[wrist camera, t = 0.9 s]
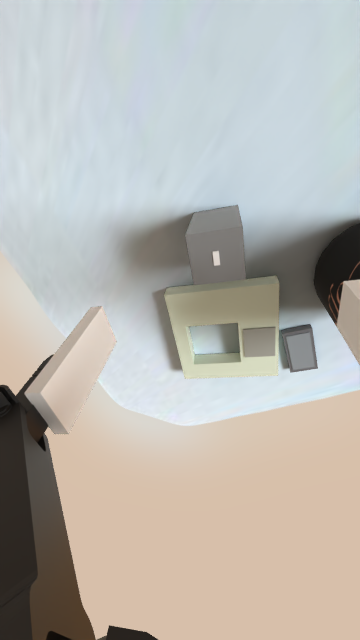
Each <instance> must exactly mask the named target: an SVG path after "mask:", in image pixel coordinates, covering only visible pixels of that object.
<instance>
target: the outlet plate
mask: <svg viewBox="0 0 360 640" xmlns="http://www.w3.org/2000/svg"><path fill="white" fill-rule="evenodd" d="M164 297H165V301H166V305H167V309H168V313H169V317H170V321H171V325H172V329H173V333H174V337H175V341H176V345H177V349H178V353H179V357H180V361H181V365H182V369H183V373H184V377H185V379H193V378H221V377H250V376H278V343H279V281H278V278H277V276H267V277H258V278H249V279H246V280H238V281H229V282H220V283H211V284H202V285H187V286H178V287H169V288H167V289H166V292H165V294H164ZM227 323H238V332H239V343H240V353H221V354H203V355H195V353H194V348H193V343H192V339H191V334H190V329H189V326H202V325H214V324H227Z"/></svg>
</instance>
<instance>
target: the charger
mask: <svg viewBox="0 0 360 640" xmlns="http://www.w3.org/2000/svg"><path fill="white" fill-rule="evenodd" d="M185 238H186V243H187V249H188V255H189V260H190V266H191V272H192V277H193V283H194V285H202V284H211V283H220V282H229V281H238V280H246V275H245V259H244V242H243V226H242V222H241V217H240V213H239V208H238V205H235V206H229V207H223V208H217V209H212V210H206V211H200V212H194V214H193V216H192V219H191V221H190V224H189V226H188V229H187V232H186V234H185Z"/></svg>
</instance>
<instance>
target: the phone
mask: <svg viewBox="0 0 360 640" xmlns="http://www.w3.org/2000/svg"><path fill="white" fill-rule="evenodd" d="M281 331H282V336H283V340H284V345H285V350H286V354H287V359H288V364H289V368H290V372H298V371H304V370H311V369H317V368H318V367H317V360H316V352H315V345H314V338H313V331H312V327H311V325H305V326H300V327H295V328H290V329H285V330H281Z"/></svg>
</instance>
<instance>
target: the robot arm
mask: <svg viewBox="0 0 360 640" xmlns="http://www.w3.org/2000/svg"><path fill="white" fill-rule="evenodd" d="M337 328H338V330H339V331H340V333H341V335H342V336H343V338H344V340H345V341H346V343H347V345H348V346H349V348H350V350H351V351H352V353H353V355H354V356H355V358H356V360H357V361H358V363H359V365H360V280H351V281H344V282H343V288H342V295H341V301H340V307H339V314H338V320H337ZM116 342H117V341H116V339H115V336H114V334H113V331H112V329H111V326H110V324H109V321H108V319H107V316H106V314H105V312H104V309H103V307H102V306H99V307H91V308H90V309H89V310H88V312H87V313H86V314H85V316H84V317H83V318H82V319H81V321H80V322H79V323H78V325H77V326H76V327H75V328H74V330H73V331H72V332H71V334H70V335H69V336H68V337H67V339H66V340H65V341H64V343H63V344H62V345H61V347H60V348H59V349H58V350H57V352H56V353H55V354H54V355H51V356H50V357H48V358H47V359H46V360H45V361H43V363H42V364H41V365H40V366H39V368H38V369H37V371H35V373H34V374H33V375H32V377H31V378H30V379H29V380H28V381H27V383H26V384H25V385H24V386H23V388H22V389H21V390H20V391H19V393H18V394H17V395H16V396H15V395H14V394H13V393H12V391H11V390H10V389H9V387H8V386H6V385H0V640H96V639H95V635H94V631H93V628H92V625H91V622H90V620H89V618H88V616H87V614H86V612H85V610H84V608H83V605H82V602H81V598H80V594H79V589H78V584H77V580H76V574H75V570H74V564H73V560H72V555H71V550H70V546H69V540H68V536H67V531H66V526H65V521H64V516H63V511H62V506H61V502H60V497H59V492H58V487H57V482H56V477H55V473H54V468H53V463H52V458H51V453H50V449H49V443H48V439H47V437H46V435H45V433H44V432H45V431H46V429H47V427H48V426H49V428H50V429H51V430H52V431H53V433H54V434H69V433H70V431H71V429H72V427H73V425H74V423H75V421H76V419H77V417H78V416H79V414H80V412H81V410H82V408H83V406H84V404H85V402H86V400H87V398H88V396H89V394H90V392H91V390H92V388H93V387H94V385H95V383H96V381H97V379H98V377H99V375H100V373H101V371H102V369H103V368H104V366H105V364H106V362H107V360H108V358H109V356H110V354H111V352H112V350H113V348H114V346H115V344H116ZM98 640H158V639H156V638H155V637H153V636H152V635H150V634H149V633H147V632H142V631H137V630H131V629H126V628H120V627H114V626H109V628H108V632H107V636H104V637H102V638H100V639H98Z"/></svg>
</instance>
